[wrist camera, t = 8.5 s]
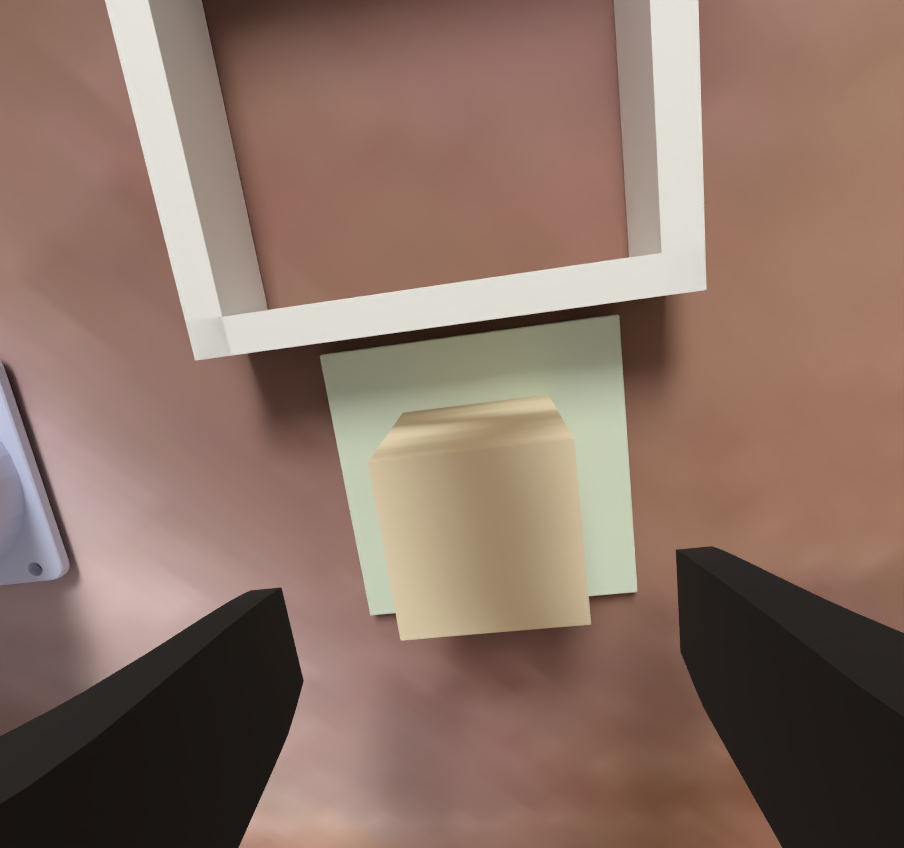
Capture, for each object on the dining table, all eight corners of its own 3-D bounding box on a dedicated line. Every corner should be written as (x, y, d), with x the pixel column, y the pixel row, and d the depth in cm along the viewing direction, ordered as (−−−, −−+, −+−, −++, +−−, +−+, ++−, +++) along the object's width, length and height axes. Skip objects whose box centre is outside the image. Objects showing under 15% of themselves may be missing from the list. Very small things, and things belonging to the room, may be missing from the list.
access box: (245, 348, 17) (195, 360, 14) (142, -102, 14) (54, -203, 11) (666, 290, 16) (706, 290, 13) (643, -215, 13) (688, -362, 10)
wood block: (424, 544, 18) (400, 640, 13) (402, 412, 17) (368, 462, 12) (561, 531, 17) (591, 624, 12) (548, 394, 16) (574, 438, 11)
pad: (373, 607, 19) (370, 615, 18) (324, 354, 17) (319, 355, 16) (633, 583, 18) (637, 592, 18) (615, 314, 16) (619, 314, 16)
